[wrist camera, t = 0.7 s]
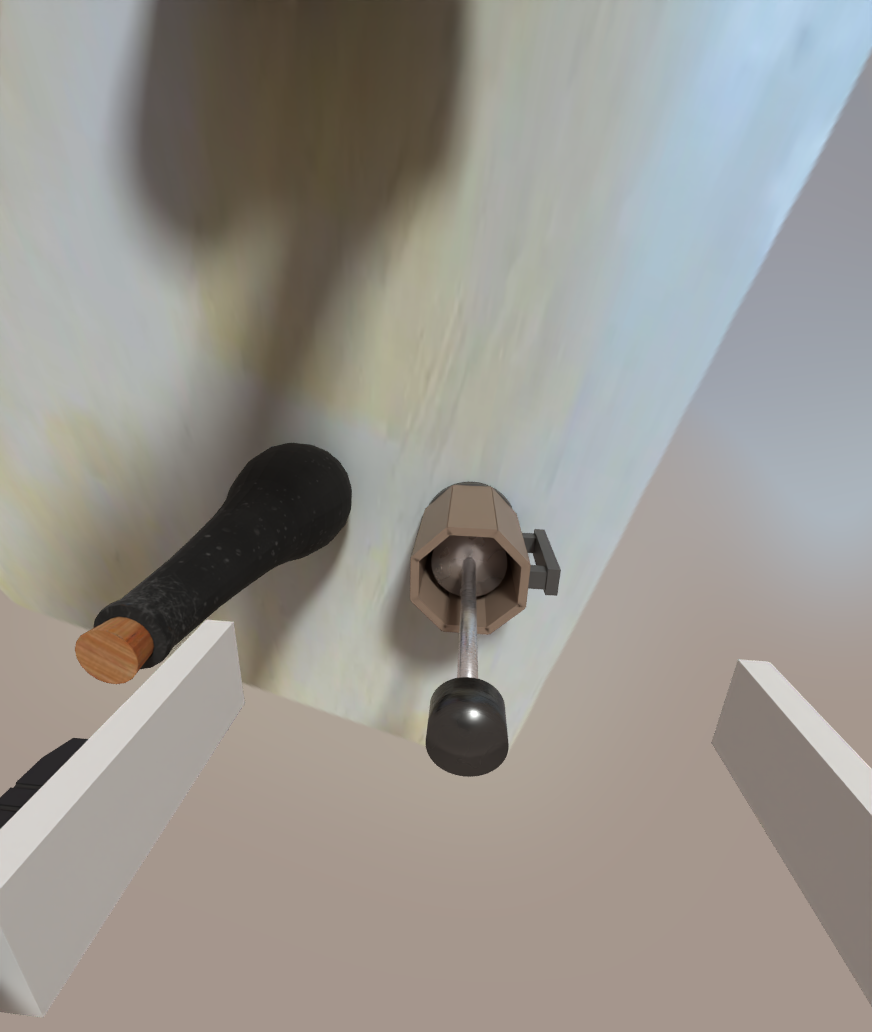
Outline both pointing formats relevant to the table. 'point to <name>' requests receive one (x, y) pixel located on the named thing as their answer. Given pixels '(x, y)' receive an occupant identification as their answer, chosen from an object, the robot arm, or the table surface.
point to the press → (479, 516)
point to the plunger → (468, 665)
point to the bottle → (223, 558)
